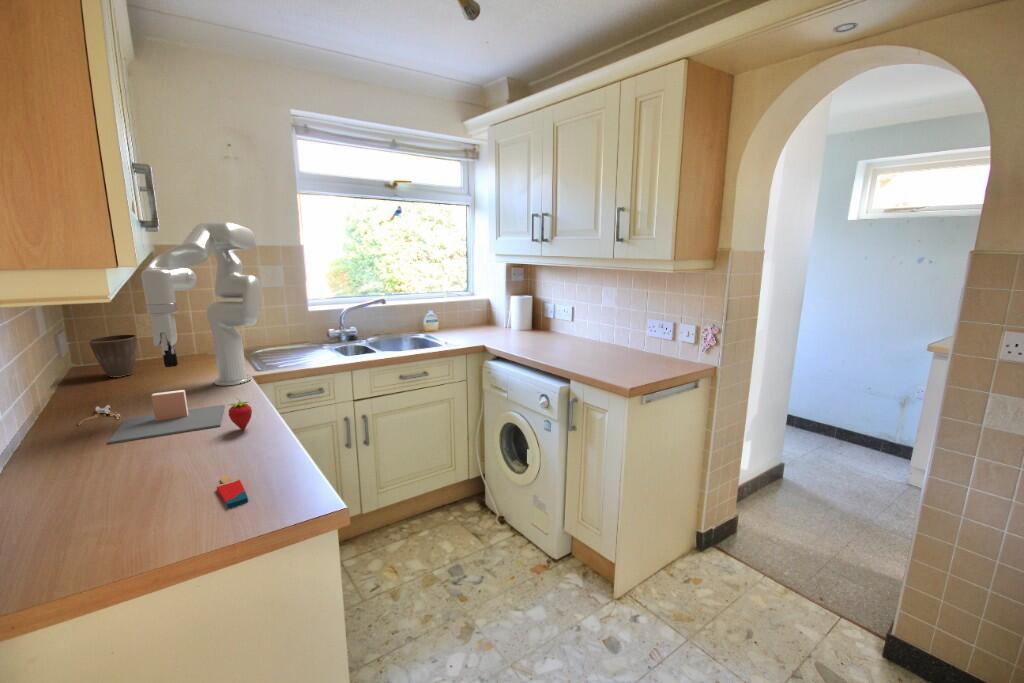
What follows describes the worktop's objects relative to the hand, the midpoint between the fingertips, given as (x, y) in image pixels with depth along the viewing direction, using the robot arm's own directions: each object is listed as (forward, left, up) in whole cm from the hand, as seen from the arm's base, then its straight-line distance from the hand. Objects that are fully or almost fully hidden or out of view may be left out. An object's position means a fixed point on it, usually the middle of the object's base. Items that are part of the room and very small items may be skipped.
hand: (171, 366), depth 148 cm
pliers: (-7, -21, -16) cm, 27 cm away
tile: (+8, 0, -14) cm, 17 cm away
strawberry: (+28, +19, -15) cm, 37 cm away
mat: (+12, 0, -15) cm, 19 cm away
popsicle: (+66, +18, -16) cm, 71 cm away
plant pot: (-62, -28, -15) cm, 70 cm away
